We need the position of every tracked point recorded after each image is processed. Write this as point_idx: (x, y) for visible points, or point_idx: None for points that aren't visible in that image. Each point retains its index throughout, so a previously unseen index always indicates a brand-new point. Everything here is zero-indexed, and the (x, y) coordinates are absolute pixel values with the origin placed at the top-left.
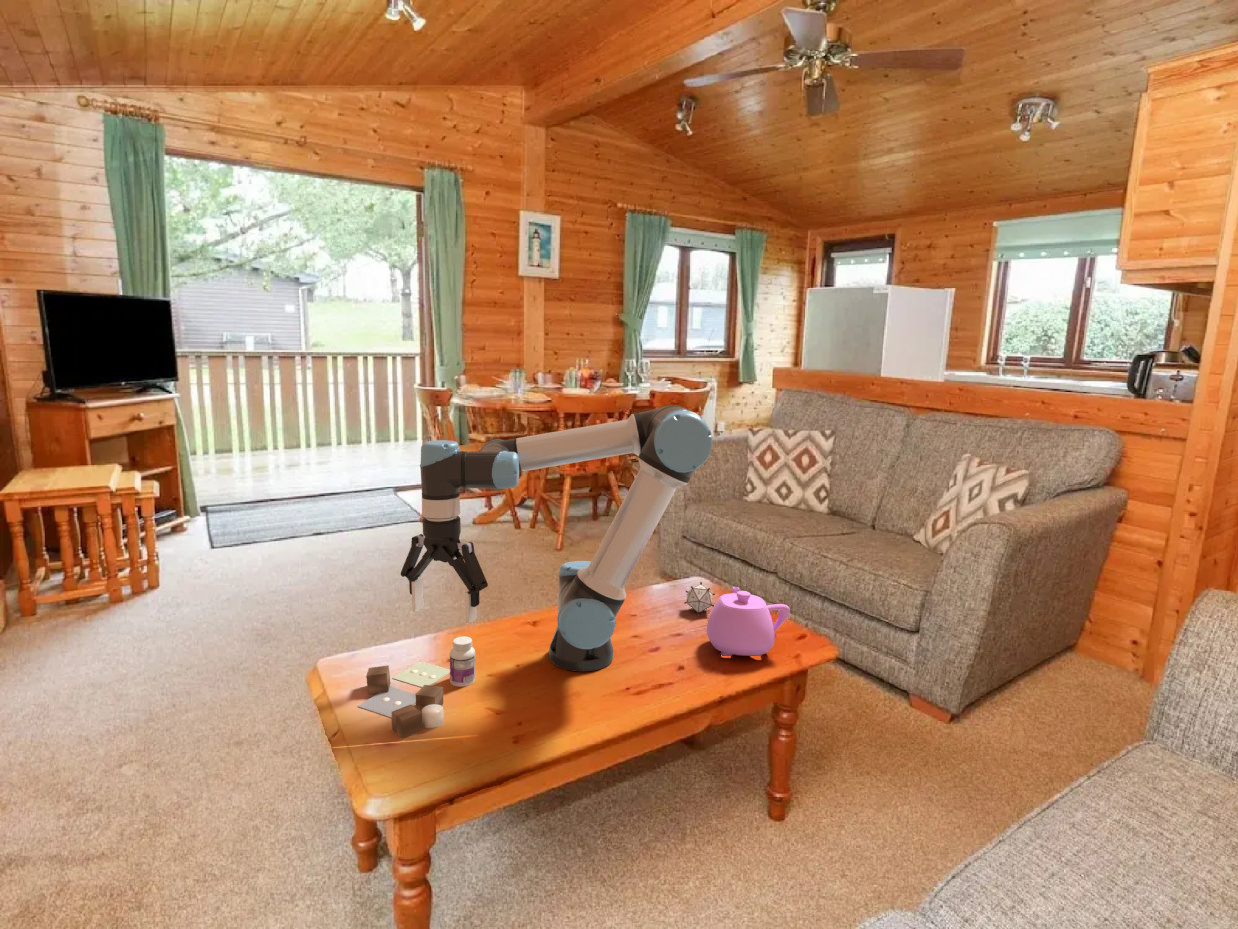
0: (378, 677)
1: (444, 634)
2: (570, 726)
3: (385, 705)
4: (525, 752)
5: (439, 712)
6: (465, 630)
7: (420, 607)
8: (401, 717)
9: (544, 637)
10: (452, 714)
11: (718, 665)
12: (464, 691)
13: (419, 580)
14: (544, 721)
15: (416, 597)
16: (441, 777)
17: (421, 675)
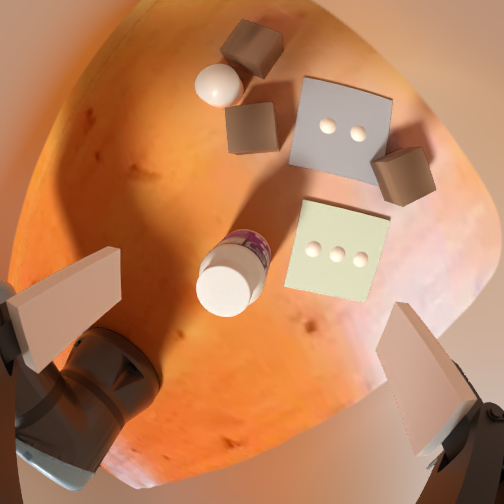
0: (398, 155)
1: (356, 398)
2: (50, 181)
3: (345, 112)
4: (75, 99)
5: (198, 80)
6: (325, 416)
7: (385, 335)
8: (249, 24)
9: (193, 414)
10: (204, 131)
11: None
12: (223, 218)
13: (432, 436)
14: (74, 177)
15: (416, 348)
16: (151, 6)
17: (338, 248)
